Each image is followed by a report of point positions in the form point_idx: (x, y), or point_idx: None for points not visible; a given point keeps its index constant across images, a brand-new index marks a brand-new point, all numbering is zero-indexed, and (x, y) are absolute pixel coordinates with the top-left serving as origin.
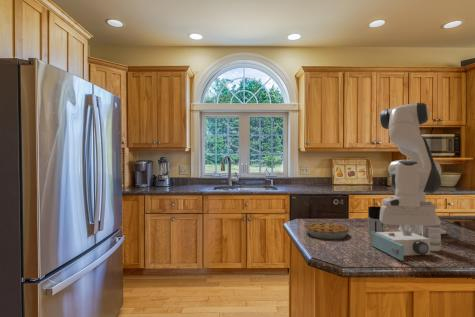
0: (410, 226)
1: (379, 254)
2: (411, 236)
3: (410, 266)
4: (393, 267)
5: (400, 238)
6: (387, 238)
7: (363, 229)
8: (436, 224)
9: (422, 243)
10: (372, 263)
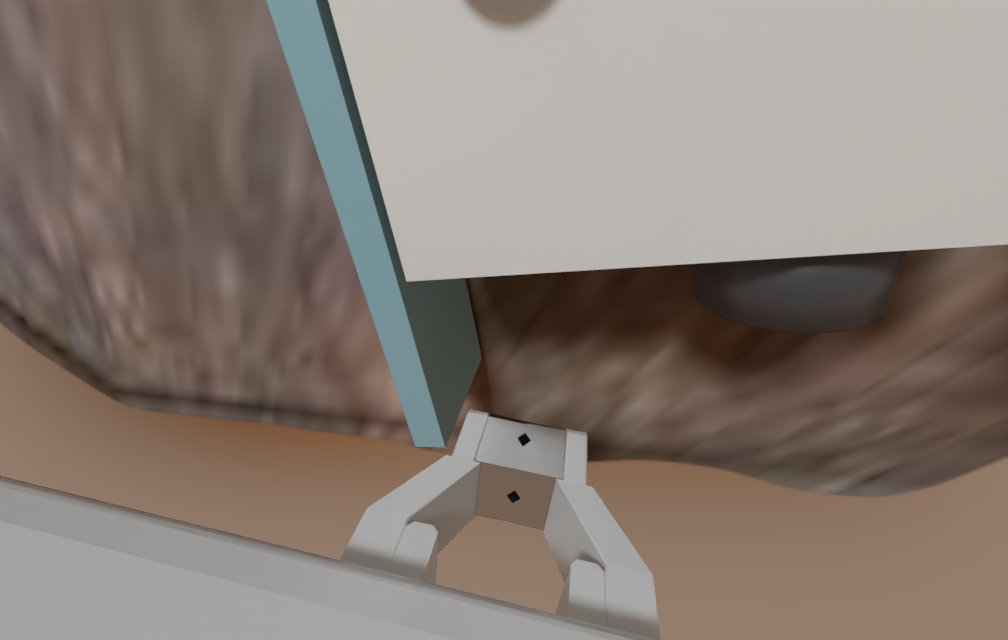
0: (557, 610)
1: None
2: (913, 20)
3: None
4: (375, 425)
5: (552, 194)
6: (358, 159)
7: None
8: None
9: (805, 322)
10: (267, 360)
